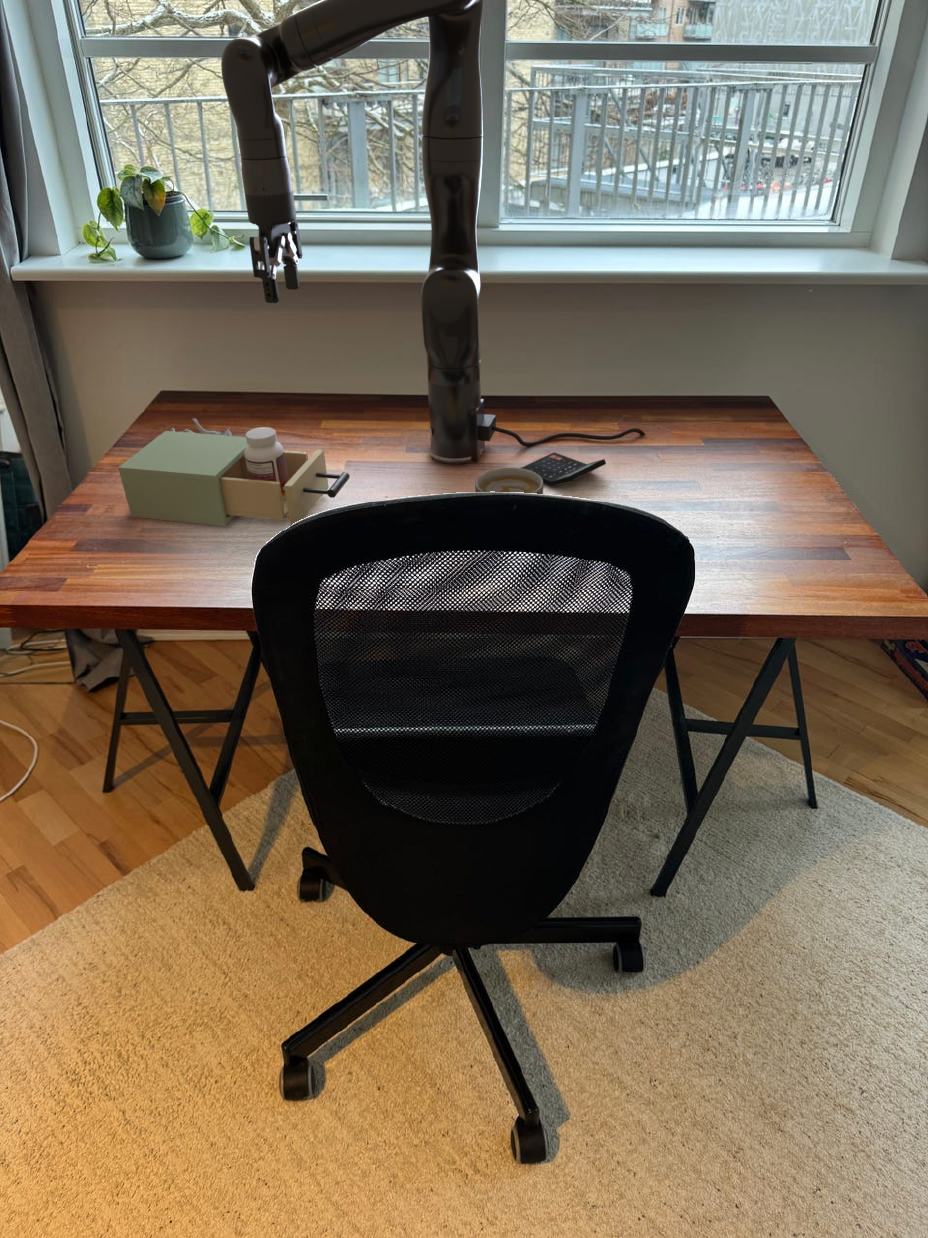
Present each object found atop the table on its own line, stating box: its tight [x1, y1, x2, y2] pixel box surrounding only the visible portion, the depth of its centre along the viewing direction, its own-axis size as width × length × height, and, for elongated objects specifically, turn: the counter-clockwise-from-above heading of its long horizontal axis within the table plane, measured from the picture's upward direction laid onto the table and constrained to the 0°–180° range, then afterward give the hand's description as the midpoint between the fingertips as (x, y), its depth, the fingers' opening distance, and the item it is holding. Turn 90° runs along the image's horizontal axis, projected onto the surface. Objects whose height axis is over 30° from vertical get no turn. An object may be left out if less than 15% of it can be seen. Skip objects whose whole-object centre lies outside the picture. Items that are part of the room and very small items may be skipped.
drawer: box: [219, 449, 350, 526], centre depth 143 cm, size 21×14×7 cm, turn 76°
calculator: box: [521, 452, 607, 487], centre depth 152 cm, size 9×12×3 cm
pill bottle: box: [244, 426, 289, 500], centre depth 141 cm, size 6×6×11 cm
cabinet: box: [117, 430, 248, 527], centre depth 146 cm, size 17×15×9 cm
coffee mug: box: [474, 467, 544, 495], centre depth 133 cm, size 13×10×10 cm
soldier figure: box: [170, 417, 233, 436], centre depth 166 cm, size 8×5×12 cm
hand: (283, 295), depth 148 cm, fingers open, 8 cm apart
